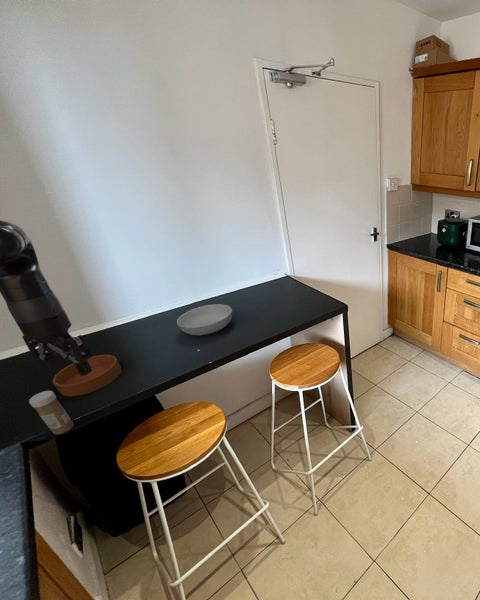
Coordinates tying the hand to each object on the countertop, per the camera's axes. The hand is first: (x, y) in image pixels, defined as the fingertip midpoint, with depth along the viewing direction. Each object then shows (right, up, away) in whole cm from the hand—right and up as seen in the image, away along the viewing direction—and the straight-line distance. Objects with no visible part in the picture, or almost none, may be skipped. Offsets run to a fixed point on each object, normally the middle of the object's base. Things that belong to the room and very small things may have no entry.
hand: (72, 371), depth 76 cm
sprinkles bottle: (-15, -20, +13) cm, 28 cm away
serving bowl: (-4, +5, +61) cm, 62 cm away
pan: (-27, -10, +32) cm, 43 cm away
